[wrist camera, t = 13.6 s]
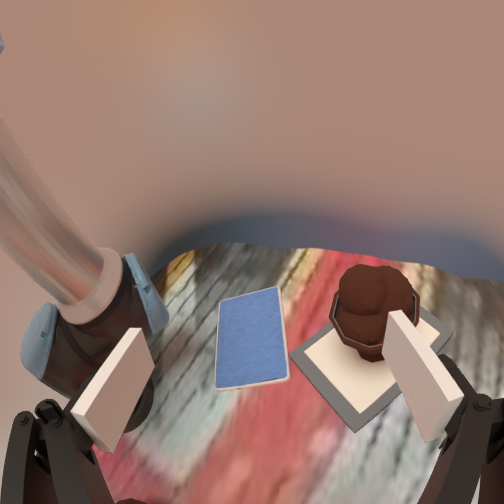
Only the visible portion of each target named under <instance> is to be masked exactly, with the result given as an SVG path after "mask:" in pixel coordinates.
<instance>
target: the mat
mask: <svg viewBox="0 0 504 504" xmlns="http://www.w3.org/2000/svg"><path fill="white" fill-rule="evenodd" d="M419 317H420V318H421V319H423V320H424V321H425V322H427V323H428V324H429V325H430V326H432V327H433V328H434V329H436V330H437V331H438V332H439V333H440V335H439V336H438V337H437V339H436V340H435V341H434V342H433V343H432V344H431V346H430V347H431V349H432V350H433V351H434V353H435V354H436V355H437V353H438V352H439V351H440V350H441V349H442V347H443V346H444V345H445V344H446V342H447V341H448V340H449V339H450V337H451V336H452V334H453V332H454V331H453V330H452V329H451V328H449V327H448V326H447V325H445V324H444V323H443V322H441V321H440V320H439V319H437V318H436V317H435V316H433V315H432V314H431V313H429V312H428V311H427V310H425V309H424V308H423V307H421V306H420V311H419ZM333 328H334V326H333V324H332V322H330V323H329V324H328V325H327V326H325V327H324V328H323V329H321V330H320V331H319V332H318V333H316V334H315V335H314V336H312V337H311V338H310V339H308V340H307V341H306V342H304V343H303V344H302V345H300V346H299V347H298V348H296V349H295V350H294V351H292V352H291V353H289V354H288V355H289V356H290V358H291V359H292V360H293V362H294V363H295V364H296V365H297V367H298V368H299V369H300V370H301V371H302V373H303V374H304V375H305V376H306V377H307V379H308V380H309V381H310V382H311V383H312V385H313V386H314V387H315V388H316V389H317V391H318V392H319V393H320V394H321V395H322V396H323V398H324V399H325V400H326V401H327V402H328V403H329V405H330V406H331V407H332V408H333V409H334V410H335V412H336V413H337V414H338V415H339V416H340V417H341V418H342V420H343V421H344V422H345V423H346V424H347V425H348V426H349V428H350V429H351V430H352V431H353V432H354V433H356V432H357V431H358V430H360V429H361V428H362V427H363V426H365V425H366V424H367V423H368V422H369V421H371V420H372V419H373V418H374V417H375V416H376V415H378V414H379V413H380V412H381V411H382V410H383V409H384V408H385V407H387V406H388V405H389V404H390V403H391V402H392V401H393V400H394V399H395V398H396V397H397V396H398V395H399V394H400V393H401V390H400V388H399V386H398V384H397V382H396V383H395V384H394V385H393V386H392V387H391V388H389V389H388V390H387V391H386V392H385V393H384V394H383V395H382V396H381V397H380V398H379V399H377V400H376V401H375V402H374V403H373V404H372V405H371V406H369V407H368V408H367V409H366V410H365V411H364V412H362V413H361V414H359V413H358V412H357V411H356V410H355V409H354V407H353V406H352V405H351V404H350V403H349V402H348V401H347V400H346V399H345V398H344V397H343V395H342V394H341V393H340V392H339V391H338V390H337V389H336V388H335V387H334V385H333V384H332V383H331V382H330V381H329V380H328V379H327V378H326V377H325V375H324V374H323V373H322V372H321V371H320V370H319V369H318V368H317V366H316V365H315V364H314V363H313V362H312V361H311V360H310V359H309V357H308V356H307V355H306V354H305V353H304V351H305V350H306V349H308V348H309V347H310V346H312V345H313V344H314V343H316V342H317V341H318V340H320V339H321V338H322V337H323V336H325V335H326V334H327V333H328V332H330V331H331V330H332V329H333Z"/></svg>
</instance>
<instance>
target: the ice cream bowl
mask: <svg viewBox="0 0 504 504" xmlns="http://www.w3.org/2000/svg"><path fill="white" fill-rule="evenodd" d="M398 310H402V312H403V313H404V314H405V315H406V317H407V318H408V319H409V320H410V322H411V323H412V324H413V325H414V327H415V328H416V326H417V325H418V323H419V311H420V296H419V295H418V294H417V293H416V292H415V290H414V289H413V288H412V285H411V284H410V283H409V281H408V279H407V278H406V277H404V275H403V274H402V273H401V272H400V271H399V270H397V269H394V268H392V267H390V266H379V267H373V266H368V265H363V264H358V265H355V266H354V267H351V268H349V269H347V271H346V272H345V273H344V275H343V276H342V277H341V279H340V282H339V290H338V291H337V292H336V293H335V294H334V298H333V302H332V306H331V310H330V314H329V319H330V320H331V322H332V324H333V326H334V328H335V330H336V332H337V334H338V335H339V337H340V339H341V341H342V342H343V344H344V345H347V346H349V347H352V348H354V349H356V350H357V351H358V353H359V355H360V357H361V358H362V359H364V360H366V361H369V362H371V363H373V362H378V361H383V360H385V359H384V357H383V355H382V348H383V343H384V338H385V332H386V326H387V320H388V313H389V312H392V311H398Z"/></svg>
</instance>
